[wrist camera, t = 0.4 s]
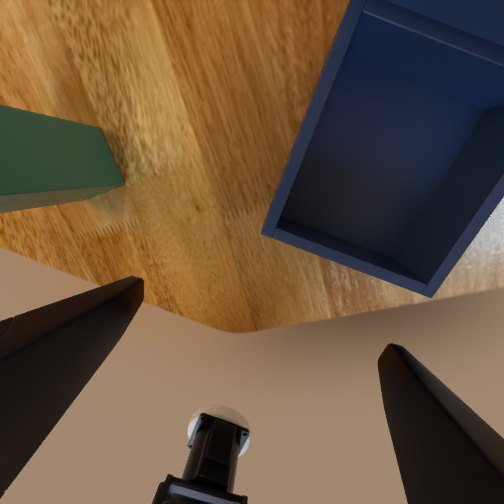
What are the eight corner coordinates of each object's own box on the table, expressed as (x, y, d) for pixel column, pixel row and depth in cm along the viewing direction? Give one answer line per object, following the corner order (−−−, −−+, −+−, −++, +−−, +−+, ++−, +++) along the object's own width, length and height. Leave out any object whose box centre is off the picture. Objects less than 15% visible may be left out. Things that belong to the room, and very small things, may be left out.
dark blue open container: (394, 267, 22) (431, 298, 17) (265, 218, 22) (260, 234, 17) (493, 106, 18) (589, 77, 12) (332, 43, 18) (355, -14, 12)
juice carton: (125, 184, 23) (-58, 200, 10) (82, 200, 24) (-133, 233, 11) (99, 127, 21) (-147, 69, 9) (54, 147, 22) (-223, 119, 10)
